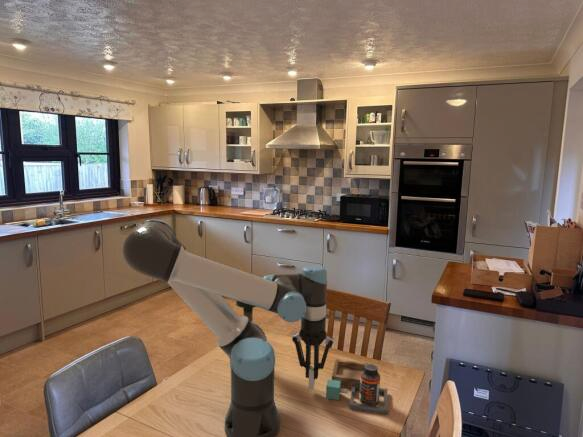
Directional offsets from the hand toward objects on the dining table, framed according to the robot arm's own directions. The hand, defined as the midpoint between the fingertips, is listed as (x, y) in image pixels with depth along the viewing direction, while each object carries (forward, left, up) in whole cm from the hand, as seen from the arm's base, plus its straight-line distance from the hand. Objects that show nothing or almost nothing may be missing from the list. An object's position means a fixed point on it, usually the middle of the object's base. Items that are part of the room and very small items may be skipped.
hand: (311, 387), depth 130 cm
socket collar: (+18, 0, -2) cm, 18 cm away
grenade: (-26, +16, -2) cm, 31 cm away
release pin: (+8, 0, -2) cm, 8 cm away
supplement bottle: (+18, 0, -2) cm, 18 cm away
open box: (+11, +12, -2) cm, 17 cm away
